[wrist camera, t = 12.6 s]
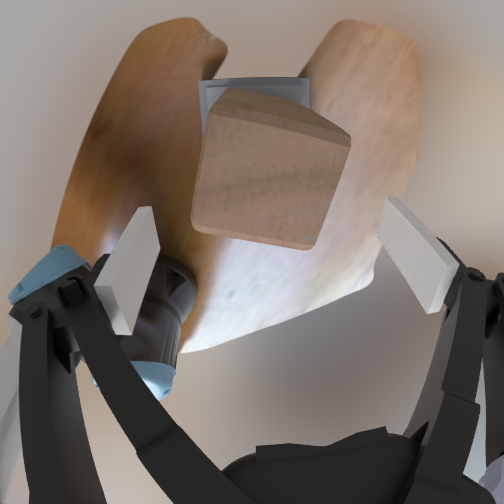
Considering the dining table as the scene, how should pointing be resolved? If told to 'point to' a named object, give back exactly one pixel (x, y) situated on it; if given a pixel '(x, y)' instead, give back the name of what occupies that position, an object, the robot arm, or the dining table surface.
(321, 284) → the dining table surface
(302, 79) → the slate tray
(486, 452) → the robot arm
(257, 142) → the wooden block
